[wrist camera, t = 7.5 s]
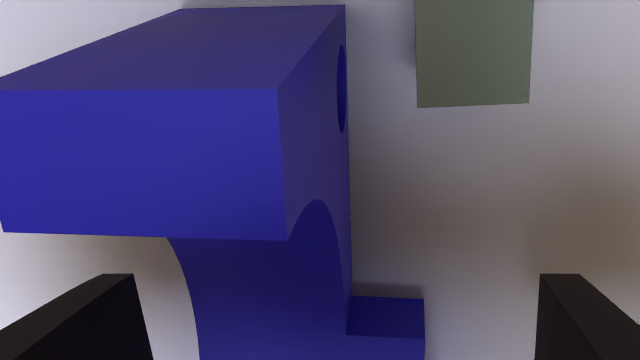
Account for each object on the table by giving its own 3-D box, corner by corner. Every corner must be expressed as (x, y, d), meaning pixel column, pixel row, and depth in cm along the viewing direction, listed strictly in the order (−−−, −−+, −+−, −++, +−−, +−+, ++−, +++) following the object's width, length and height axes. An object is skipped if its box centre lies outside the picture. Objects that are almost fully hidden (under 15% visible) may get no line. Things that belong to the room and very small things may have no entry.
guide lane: (548, -248, 9) (596, -306, 7) (508, 557, 15) (525, 668, 13) (-352, -132, 11) (-543, -144, 9) (-58, 516, 18) (-126, 604, 16)
